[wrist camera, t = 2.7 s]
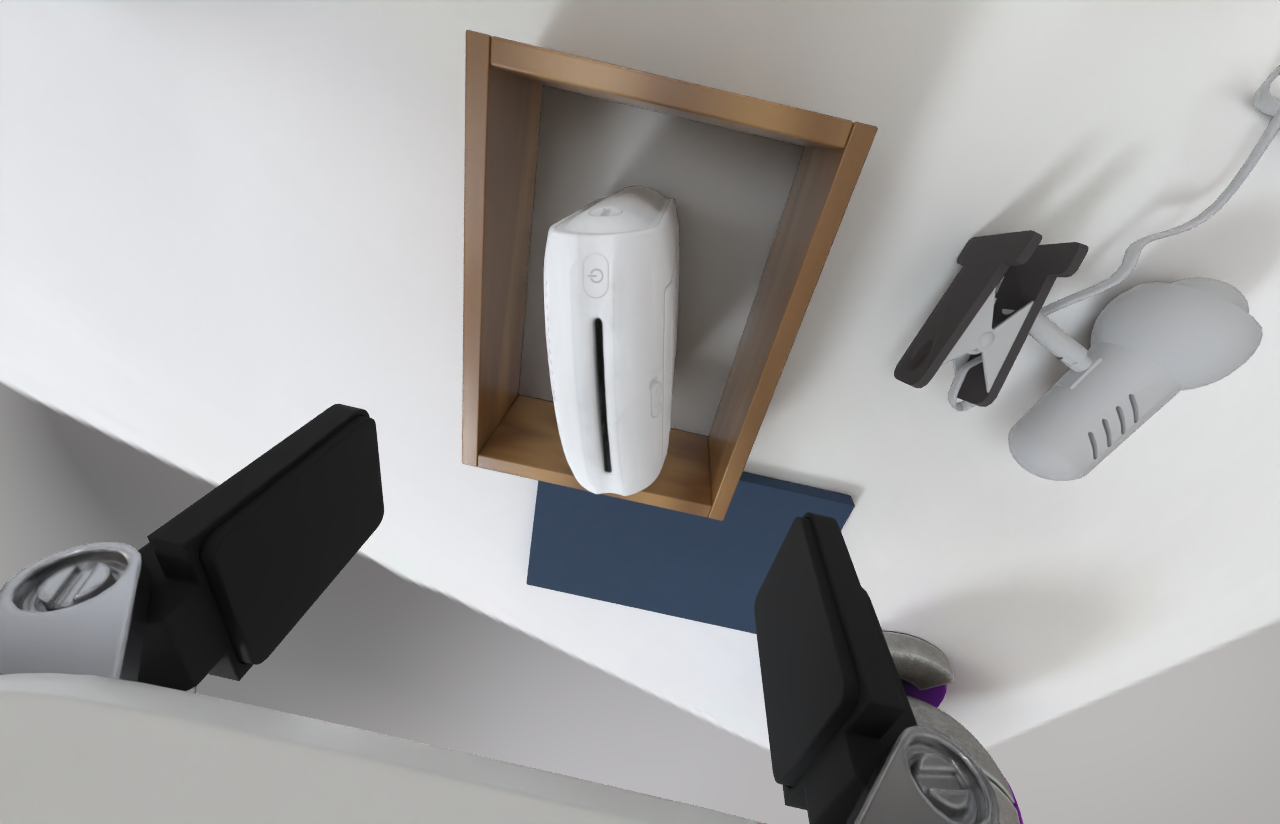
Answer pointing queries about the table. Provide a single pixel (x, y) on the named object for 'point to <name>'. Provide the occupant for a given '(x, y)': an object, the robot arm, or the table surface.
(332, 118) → the table surface
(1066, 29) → the table surface
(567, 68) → the wooden box
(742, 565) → the mat
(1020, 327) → the clip-on lamp
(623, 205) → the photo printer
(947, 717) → the webcam
